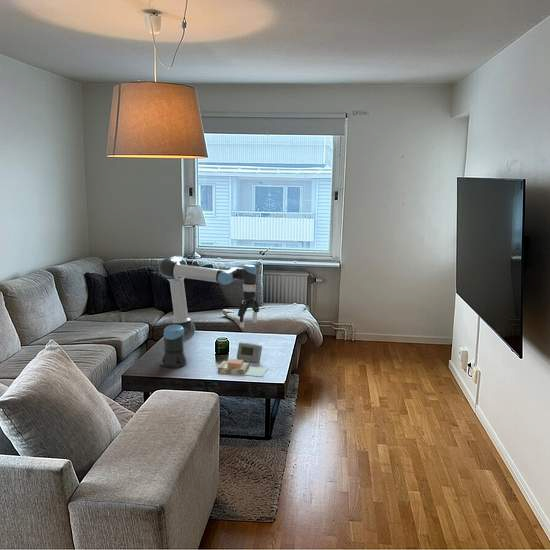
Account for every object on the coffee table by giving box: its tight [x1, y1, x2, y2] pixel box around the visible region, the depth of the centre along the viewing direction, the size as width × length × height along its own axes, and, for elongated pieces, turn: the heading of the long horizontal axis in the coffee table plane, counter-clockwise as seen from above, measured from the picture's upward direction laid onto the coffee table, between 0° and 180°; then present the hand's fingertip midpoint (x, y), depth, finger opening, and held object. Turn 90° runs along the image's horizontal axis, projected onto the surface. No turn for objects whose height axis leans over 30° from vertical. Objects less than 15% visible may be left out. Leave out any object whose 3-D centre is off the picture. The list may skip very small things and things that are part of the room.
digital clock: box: [236, 342, 263, 364], centre depth 342 cm, size 16×9×11 cm, turn 56°
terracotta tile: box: [227, 358, 244, 368], centre depth 324 cm, size 8×7×2 cm
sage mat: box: [244, 366, 269, 378], centre depth 323 cm, size 11×14×1 cm
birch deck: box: [217, 360, 250, 376], centre depth 325 cm, size 16×12×3 cm
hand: (248, 324), depth 331 cm, fingers open, 13 cm apart
